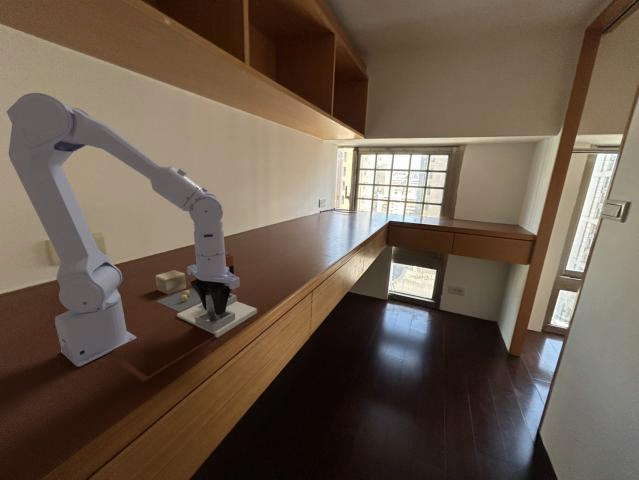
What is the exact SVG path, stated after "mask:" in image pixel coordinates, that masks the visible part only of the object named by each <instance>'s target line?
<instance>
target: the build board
mask: <svg viewBox="0 0 639 480" xmlns="http://www.w3.org/2000/svg"><path fill="white" fill-rule="evenodd" d="M257 313H258V309H257V307H253V306H250V305H248V304H245V303H243V302H239V301H238V296H237V295H236V294H233V293H230V295H229V298H228V301H227V306H226V311H225V312H224V313H223V317H222V318H221V319H220V320H217V321H209V320H208V316H207V310H205V309H204V307H203V304H202V302H200V303H198V304H196V305H194V306H191V307H189V308H187V309H185V310H183V311H180V312H178V313H177V314H176V317H178V318H179V319H181V320H183V321H186V322H188V323H189V324H192V325H194V326H197V327H198V328H200V329H202V330H203V331H204V330H205V331H207V332H209V333H210V334H213V337H215V338H219V337H222V335H224V334H226V333H227V332H229V331H231V330H232V329H233V328H235V327H237V326H239V325H240V324H241V323H243V322H245V321H246V320H248V319H250V318H251V317H253V316H254V315H256V314H257Z"/></svg>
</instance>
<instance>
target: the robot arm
mask: <svg viewBox="0 0 639 480" xmlns="http://www.w3.org/2000/svg"><path fill="white" fill-rule="evenodd" d="M6 115H7V116H8V118H9V120H10V123H11V130H10V140H9V144H8V145H9V146H8V157H9V160H10V162H11V164H12V166H13V168H14V170H15V172H16V174H17V176H18V179H19V180H20V183H21V184H22V187H23V189H24V190H25V192H26V194H27V196H28V198H29V200H30V203H31V204H32V206H33V209H34V210H35V213H36V214H37V216H38V218H39V221H40V222H41V224H42V226H43V229H44V231H45V232H46V234H47V237H48V239H49V240H50V242H51V245H52V247H53V249H54V251H55V253H56V254H57V256H58V259H59V262H60V264H59V268H58V270H57V273H56V281H57V282H58V285H59V293H58V299H59V302H60V303H61V304H62V306H64V308H65V309H67V311H65V312H64V313H61V314H59V315H57V316H55V317H54V325H55V328H56V329H55V330H56V332H57V337H58V340H59V345H60V349H61V350H60V352H61V354H63V355H64V356H65V357H66V358H67V359H68V360H69V361H70V362H71V363H72V364H73V365H74V366H75V367H79V368H80V367H82V366H85V364H88V363H90V362H93V361H94V360H96V359H99V358H101V357H103V356H104V355H107V354H109V353H111V352H113V350H114V349H116V348H117V349H118V348H119V347H120V346H123V345H125V344H127V343H129V342H132V341H133V340H136V339H137V336H136V335H135V334H132V333H131V332H130V331H128V330H127V326H126V319H125V313H124V308H123V301H122V298H121V293H120V292H119V291H118V288H119V287H120V285H121V284H122V282H123V274H122V271H121V270H120V269H119V267H117V266H115V265H114V264H113V263H112V262H111V260H110V258H109V256H108V255H107V254H106V253H104V252H102V251H101V250H100V249H99V248H98V245H97V243H96V240H95V239H94V236H93V233H92V232H91V229H90V228H89V225H88V222H87V220H86V218H85V216H84V213H83V212H82V208H81V207H80V204H79V202H78V200H77V198H76V195H75V193H74V191H73V188H72V186H71V184H70V182H69V180H68V179H69V178H68V177H67V175H66V173H65V170H64V168H63V165H64V163H66V161H67V160H68V158H70V157H71V155H72V154H73V153H74V152H76V151H78V150H80V149H82V148H84V147H86V146H89V147H93V148H97V149H101V150H104V151H105V152H107V153H109V154H110V155H111V156H113V157H114V158H116V159H118V160H119V161H121V162H122V163H124V164H125V165H127V166H128V167H130V168H131V169H132V170H135V171H136V172H138V173H139V174H141V175H142V176H144V177H145V178H146V179H149V181H150V184H151V188H152V190H153V191H154V192H155V193H157V194H158V195H160V196H161V197H163V199H165V200H167V201H168V202H170V203H172V204H173V205H174V206H176V207H177V208H178V209H180V210H182V211H184V212H188V213H189V217H190V218H191V220H192V221H193V226H194V227H193V228H194V231H193V238H194V239H193V240H194V250H195V263H196V264H191V265H189V266H186V268H187V269H186V271H187V275H188V276H195V277H196V278H195V279H193V280H192V281H190V286H192V288H193V289H195V290H196V292H197V293H198V295H199V297H200V299H201V302H200V303H202V304H203V307H204V309H205V310H207V306H206V297H205V293H206V292H208V291H209V293H210V295H211V297H212V300H213V304H214V310H215V313H216V315H220V314H222V313H224V312H225V311H226V306H227V301H228V298H229V295H230V294H232V293H231V292H232V291H233V290H236V289H237V288H240V287H241V280H240V277H238V276H236V275H235V274H234V275H233V274H232V273H230V272H229V267H226V261H225V252H226V248H225V234H224V233H225V232H224V230H223V227H224V225H223V221H222V219H223V215H224V211H223V205H222V203H221V201H220V199H219V198H217V196H216V195H215V194H213V193H209V189H208V188H206V187H205V186H203V187H201V186H200V185H199V184H197V183H196V182H195V181H193V180H192V179H191V178H190V177H188V176H187V172H186V171H185V170H183V169H182V168H179V169H177V168H176V167H174V166H161V165H160V164H159V163H158V162H156V161H155V160H154V159H152V158H151V157H149V156H148V155H147V154H146V153H145V152H143V151H142V150H141V149H139V148H138V147H137V146H136V145H134V144H132V143H131V141H129V140H127V138H125V137H124V136H122V135H121V134H120V133H119V132H117V131H116V130H115V129H114V128H113V127H110V126H108V125H107V124H105V123H103V122H102V121H100V120H99V119H96V118H95V117H92V116H91V115H90V114H89V113H87V112H85V111H84V110H82V109H80V108H77V107H74V106H71V105H69V104H66V103H65V102H62V101H60V100H59V99H57V98H56V97H54V96H51V95H49V94H46V93H41V92H30V93H26V94H24V95H23V96H22V95H21V96H20V97H19V98H18V99H17V100H16V101H15V102H14V104H12V105H11V106H10V107H9V108H8V109H7V110H6Z"/></svg>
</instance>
